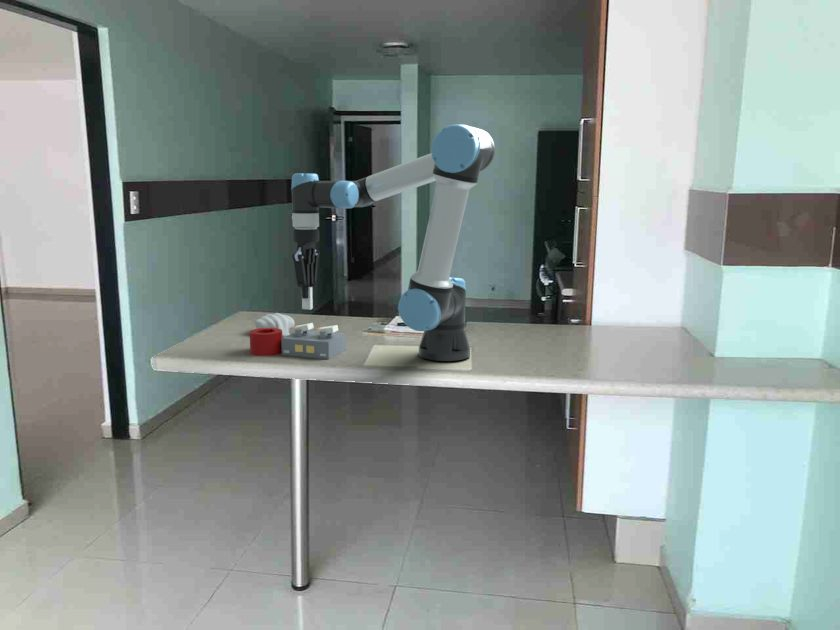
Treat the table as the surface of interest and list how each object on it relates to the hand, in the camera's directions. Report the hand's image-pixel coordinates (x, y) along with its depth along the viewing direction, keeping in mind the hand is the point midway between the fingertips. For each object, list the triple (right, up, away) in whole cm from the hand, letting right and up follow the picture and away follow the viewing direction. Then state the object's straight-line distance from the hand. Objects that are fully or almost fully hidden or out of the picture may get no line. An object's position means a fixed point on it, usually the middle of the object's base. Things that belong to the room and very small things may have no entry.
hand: (307, 308), depth 198 cm
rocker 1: (-2, -6, +2) cm, 6 cm away
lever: (-11, -13, +6) cm, 17 cm away
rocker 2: (+6, -6, -1) cm, 8 cm away
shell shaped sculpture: (-15, -9, +26) cm, 31 cm away
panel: (+2, -13, +2) cm, 13 cm away
